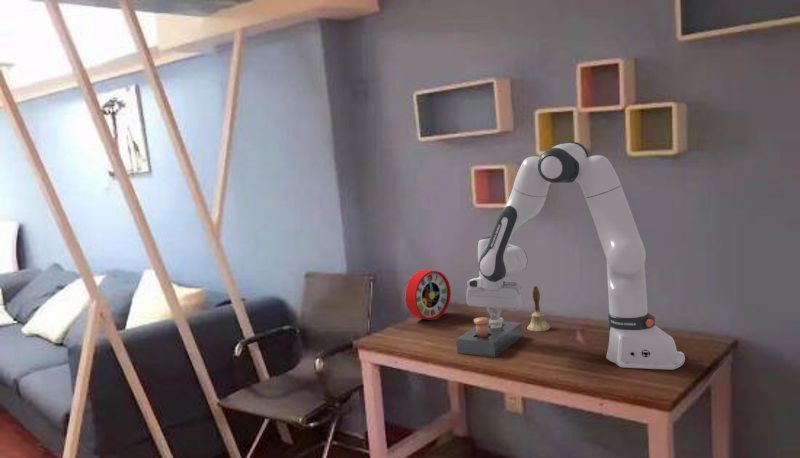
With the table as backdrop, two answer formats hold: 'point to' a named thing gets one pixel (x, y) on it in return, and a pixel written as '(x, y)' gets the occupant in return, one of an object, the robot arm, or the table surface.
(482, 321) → the peach mushroom-shaped knob
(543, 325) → the hand bell
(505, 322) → the button console
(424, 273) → the toy clock
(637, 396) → the table surface
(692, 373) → the table surface
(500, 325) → the white plunger
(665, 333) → the robot arm
